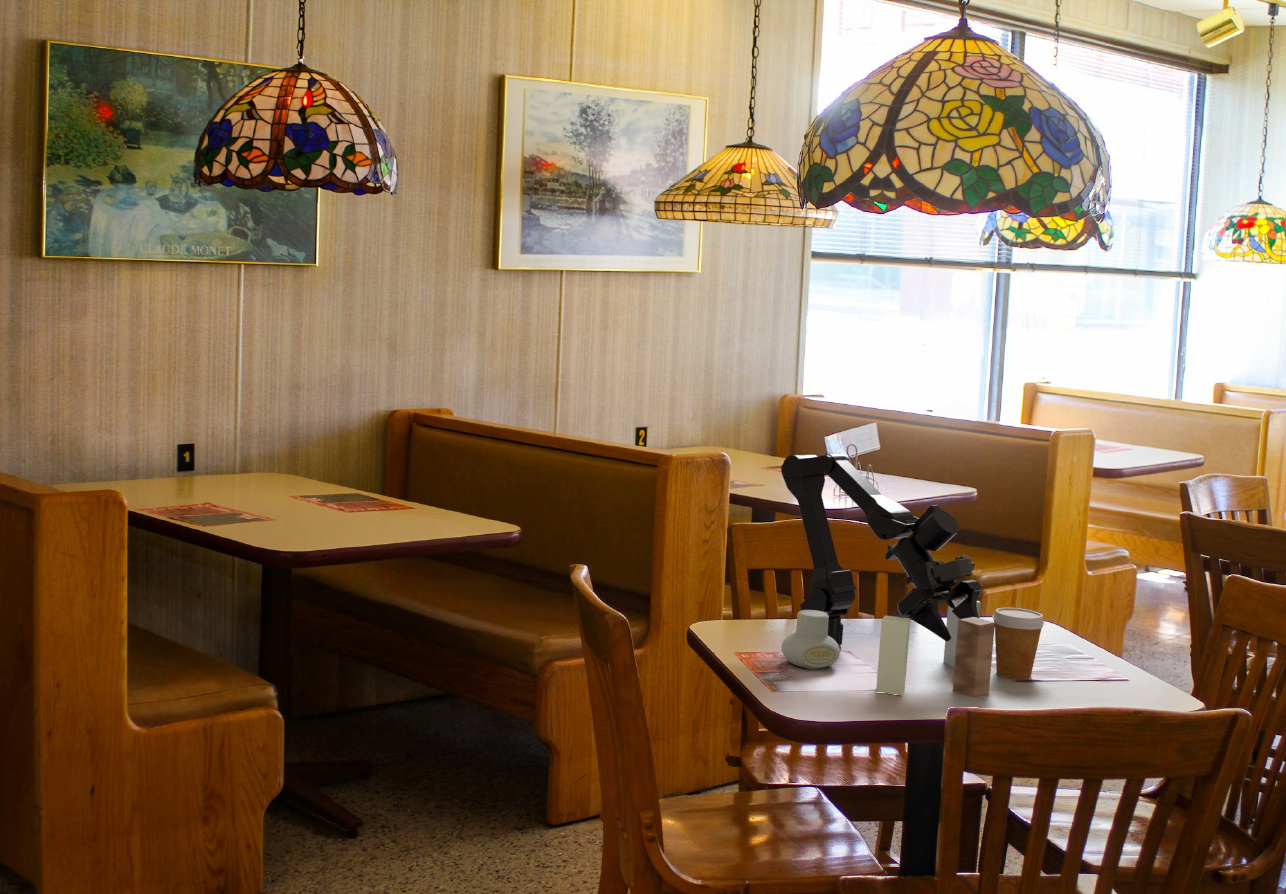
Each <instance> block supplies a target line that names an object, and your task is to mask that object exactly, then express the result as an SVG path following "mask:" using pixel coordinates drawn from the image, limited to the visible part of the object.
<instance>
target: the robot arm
mask: <svg viewBox="0 0 1286 894" xmlns="http://www.w3.org/2000/svg"><path fill="white" fill-rule="evenodd" d="M780 468H781V469H780V470H781V471H780V472H781V475H782V478H783V481H784V483H785V485H786V486H785V487H786V489H787V490H788V491H789V492H790V494H792V496H793V497H794V498H795V499H796V501H797V504H798V508H799V513H800V516H801V520H802V524H803V525H802V526H803V529H804V534H805V536H806V541H807V545H808V548H809V550H808V551H809V554H810V556H811V561H812V566H813V573H812V576H811V579H810V591H811V592H810V593H811V594H810V595H809V596H808V597H807V598H806V599H805V600H804V601H802V602H801V603H800V611H802V610H816V611H822V612H825V613H827V614H828V616H829V620H828V636H830V637H831V638H833V639H834V640H835V641H836V642H837V644H838V646H839V648H840V650H841V649H842V644H843V635H844V634H843V633H844V624H843V623H842V617H841V616H847V615H848V613H849V611H850V608H851V606H852V605H853V603H854V601H855V600H856V591H857V587H856V585H855V582H854V578H853V572H852V570H851V569H847V570H844V568H843V567H842V566H841V564H840V563H839V560H838V557H837V553H836V548H835V544H834V540H833V536H832V533H831V529H830V524H829V519H828V517H827V512H826V511H827V510H826V508H825V505H824V499H823V496H822V495H823V491H824V487H825V482H826V477H825V476H828V477H829V478H830V479H831V480H832V481H833V482H834V483H835V484H836V485H837V486H838V487H839V488H840V490H842V491H843V492H844V493H845V494H846V495H847V496H848V497H849V498H850V499H851V500H852V501H853V502H854V504H856V505H857V507H859V508H860V509H861V511H862V513H863V514H864V515H865V519H866V524H867V525H868V526H869V528H870V529H871V531H872V532H873V534H874V535H875V536H876V538H877V539H879V540H882V541H887V540H898V541H897V542H896V543H895V544H889V545H887V550H886V553H885V557H884V558H885V560H886V561H888V560H889V561H890V560H898V562H899V564H900V566H901V567H902V569H903V571H904V572H905V573H906V575H907V578H906V579H905V582H906V584H907V585H908V586H909V585H913V586H914V587H913V588H912V589H910V590H909V591H908V592H907V593H906V594H905V595H904V596H903V597H902V598H900V599H899V600H898V601H897V611H898V612H899V615H900V616H901V617H902V618H910V621H913V622H914V623H916V624H918V625H920V626H922V627H924V628H925V629H927V630H928V631H930V632H931V633H933V634H935V635H936V636H937V637H939V638H941V640H944V642H945V641H947V642H948V641H949V640H951V636H950V633H949V631H948V629H947V627H946V625H947V624H945V622H944V620H943V618H942V616H941V614H940V612H939V610H938V607H939V606H938V605H939V604H940V603H944V602H945V603H946V604H947V606H948V605H949V606H950V607H951V608H953V610H952V612H953V613H954V614H955V615H956V616H957V617H958V618H959V619H965V618H971V617H976V618H979V616H978V612H977V606H976V603H977V601H978V599H979V598H980V597H981V593H982V592H983V591H984V588H983V587H982V586H981V584H980V583H979V581H978V580H974V579H967V580H963V581H960V582H958V581H957V580H959V579H962V578H964V577H972V576H974V574H973V572H974V570H975V562H974V561H973V560H972V559H971V558H970V556H969V555H968V554H962V555H960V556H957V557H955V559H954V560H951V561H947V562H944V561H942V560H936V559H935V558H934V557H933V554H932V553H931V552H938V551H939V550H941V548H943V547H944V546H945V545H946V544H947V543H948V542H949V541H950V540H952V539H953V538H954V537H955V536H956V535H957V534H958V532H959V531H960V525H959V523H958V521H957V519H956V518H955V517H954V516H952V515H951V514H950V513H948V512H947V511H945V510H944V509H941V507H940V506H939V505H938V504H933V505H930V506H929V507H927V509H926V510H925V512H924V513H923V514H921V515H920V517H917V516H914V515H913V513H912V512H911V511H910V510H909V509H907V508H906V507H905V506H903V505H902V504H901V503H899V502H896V501H894V500H892V499H890V498H888V497H886V496H884V495H883V494H882V493H881V492H880V491H879V490H878V489H877V488H876V487H875V486H874V485H873V484H872V483H871V482H870V481H869V480H868V479H867V477H865V476H864V475H863V474H862V473H861V472H860V471H859V470H858V469H856V467H854V465H852V463H851V462H850V461H849V459H848V457H847V456H846V455H844V454H842V453H826V454H824V455H818V456H817V455H816V454H813V453H812V454H793V455H788V456H787V457H786V458H785V459H784V460H783V463H782V464H781V467H780ZM930 551H931V552H930ZM955 585H956V586H955ZM952 587H953V588H952Z"/></svg>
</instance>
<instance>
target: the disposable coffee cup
mask: <svg viewBox="0 0 1286 894" xmlns="http://www.w3.org/2000/svg"><path fill="white" fill-rule="evenodd" d="M994 611H995V612H994V614H992V616H991V617H992V619H993V622H995V629H994V643H995V665H996V667H995V669H996V671H995V672H996V674H998V676H1001V677H1003V678H1007V679H1013V680H1028V679H1030V678H1031V676H1032V673H1033V669H1034V668H1033V667H1034V664H1035V660H1036V655H1037V650H1038V647H1039V641H1040V636H1041V632H1042V628H1044V625H1045V623H1046V622H1045V620H1044V616H1043V614H1042V613H1040V612H1038V611H1034V610H1032V609H1027V608H1018V607H999V608H996V609H995V610H994Z"/></svg>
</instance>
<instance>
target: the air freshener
mask: <svg viewBox="0 0 1286 894" xmlns="http://www.w3.org/2000/svg"><path fill="white" fill-rule="evenodd" d="M828 620H829V616H828V614H827V613H825V612H822V611H816V610H802V611H801V610H800V611H798V612H797V615H796V626H795V627H796V628H795V630H796V631H795V632H794V633H791V634H789V635H788V636H787V637H785V638H784V640H783V641H782V644H781V653H782V655H783V656H784V657H785V659H786V661H788V662H790V663H791V664H793V665H795V666H798V667H800V668H803V669H807V670H813V669H818V670H821V668H822V669H824V668H826V667H829V666H831V665H833V664H834V663H835V662H836V661H838V659H839V657H840V654H841V649H840V648H839V646H838V644H837V642H836V641H835V640H834V639H833V638H831V637H830V636H828Z"/></svg>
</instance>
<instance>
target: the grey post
mask: <svg viewBox="0 0 1286 894" xmlns="http://www.w3.org/2000/svg"><path fill="white" fill-rule="evenodd" d="M981 605H982V602H981V601H980V600H977V603H976V606H977V612H978V616H979V618H980V619H981V609H982V608H981V607H982V606H981ZM952 610H953V608H951V607H950V606H949V605H948V604H947V612H946V613H947V615H946V624H945V625H946V627H947V629H948V631H949V633H950V636H951V640H949V641H948V642H947V641H945V640H944V649H943V650H944V651H943V661H942V662H943V663H944V664H946V665H947V666H949V667H951V668H952V669H954V670H955V658H956V647H957V635H958V623H959V618H958V617H957V616H956V615H955V614H954V613H953V612H952Z"/></svg>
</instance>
